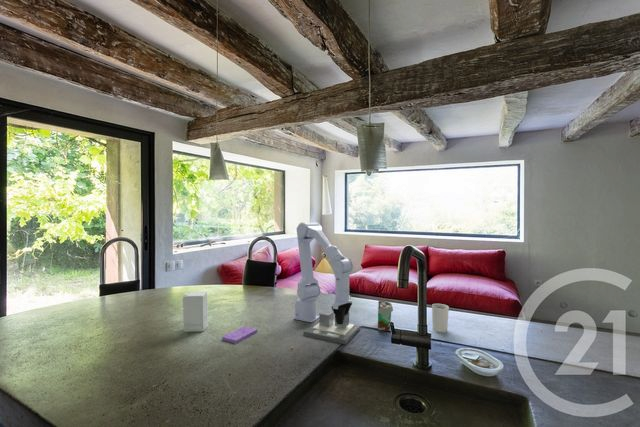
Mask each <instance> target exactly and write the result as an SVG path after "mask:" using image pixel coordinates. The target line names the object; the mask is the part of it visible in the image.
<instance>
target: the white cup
mask: <svg viewBox="0 0 640 427" xmlns="http://www.w3.org/2000/svg"><path fill="white" fill-rule="evenodd" d="M449 307H450V306H448V305H446V304H444V303H443V304H442V303H433V304H431V313H432V315H431V316H432V330H433V331H434V332H436V333H437V332H438V333H447V332H448V325H449V312H450V308H449Z"/></svg>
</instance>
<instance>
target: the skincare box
mask: <svg viewBox="0 0 640 427" xmlns="http://www.w3.org/2000/svg"><path fill="white" fill-rule="evenodd" d="M182 309H183V310H182V312H183V332H184V333H191V332H204V331H205V330H206V329H207V328H208V326H209V317H208V316H209V313H208V312H209V310H208V309H209V308H208V292H207V291H202V292H201V291H198V292H196V291H195V292H187V293H186V294H185V295H182Z"/></svg>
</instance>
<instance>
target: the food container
mask: <svg viewBox="0 0 640 427" xmlns="http://www.w3.org/2000/svg"><path fill="white" fill-rule="evenodd" d="M377 304H378V307H377V312H378V313H377V332H381V333H382V332H383V333H384V332H387V331H390V330H391V320H392V312H393V311H394V308H393V305H392V303H390V302H389V301H386V300H380V299H379V300H378V302H377ZM389 324H390V325H389Z"/></svg>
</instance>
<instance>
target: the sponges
mask: <svg viewBox="0 0 640 427" xmlns="http://www.w3.org/2000/svg"><path fill="white" fill-rule="evenodd" d="M257 333H258V328H253V327H248V326H242V327H240V328H238V329H236V330H233V331H232V332H230V333H227V334H225V335H223V336H222V337H221V338H222V339H221V340H222V341H225V342H229V343H232V344H235V345H236V344H238V343H240V342H242V341H244V340H245V339H247V338H249V337H251V336H253V335H255V334H257Z"/></svg>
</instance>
